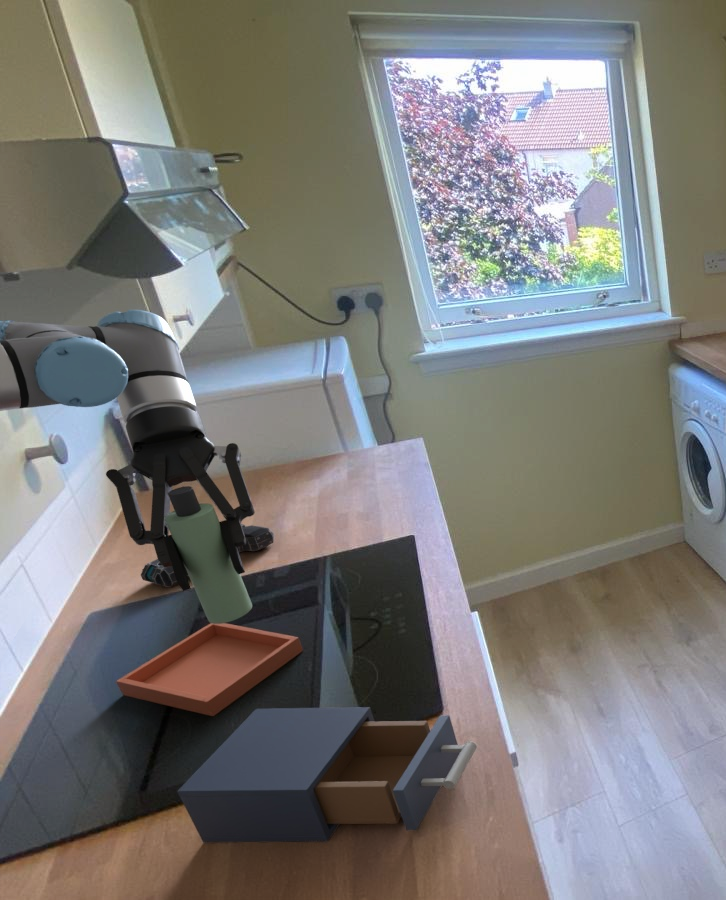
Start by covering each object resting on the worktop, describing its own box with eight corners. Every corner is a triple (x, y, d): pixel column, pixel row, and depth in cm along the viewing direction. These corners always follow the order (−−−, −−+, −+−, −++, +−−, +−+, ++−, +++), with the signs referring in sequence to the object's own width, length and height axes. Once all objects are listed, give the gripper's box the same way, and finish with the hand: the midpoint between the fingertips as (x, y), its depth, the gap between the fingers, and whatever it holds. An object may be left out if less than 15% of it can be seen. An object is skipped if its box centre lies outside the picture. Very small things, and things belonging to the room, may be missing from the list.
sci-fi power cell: (273, 525, 145) (240, 517, 148) (166, 576, 129) (132, 566, 132) (280, 543, 146) (247, 535, 150) (175, 596, 130) (142, 585, 134)
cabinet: (386, 755, 95) (370, 707, 92) (327, 841, 84) (306, 789, 80) (276, 756, 95) (255, 708, 92) (202, 842, 84) (176, 791, 81)
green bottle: (200, 618, 95) (146, 495, 88) (239, 598, 99) (191, 479, 92) (221, 627, 93) (168, 502, 86) (260, 607, 97) (212, 485, 90)
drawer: (491, 752, 94) (481, 714, 91) (452, 830, 83) (439, 790, 81) (356, 753, 94) (343, 716, 92) (300, 831, 84) (283, 791, 81)
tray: (122, 695, 107) (115, 681, 106) (219, 634, 120) (213, 620, 119) (213, 716, 102) (206, 702, 101) (303, 650, 115) (298, 637, 114)
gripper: (249, 415, 104) (300, 562, 99) (82, 449, 94) (128, 614, 88) (240, 389, 98) (292, 543, 93) (59, 422, 88) (107, 597, 83)
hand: (212, 577), depth 91 cm, fingers closed on green bottle, 5 cm apart
